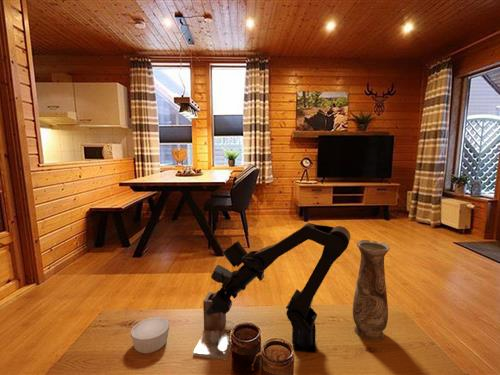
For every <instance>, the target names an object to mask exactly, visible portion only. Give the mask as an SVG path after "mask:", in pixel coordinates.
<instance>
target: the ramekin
mask: <svg viewBox="0 0 500 375" xmlns="http://www.w3.org/2000/svg"><path fill="white" fill-rule="evenodd" d="M130 330H131V331H130V337H131V339H132V344H133V347H134V350H135V351H137V352H138V353H140V354H150V353H151V354H152V353H154V352H157V351H158V350H160V349H161V348H163V347H164V346H165V345H166V343H167V341H168V336H169V330H170V323H169V321H168V320H167V319H166V318H164V317H159V316H158V317H156V316H155V317H150V318H146V319H143V320H141V321H139V322H138V323H136V324H134V326H133V327H131V329H130Z"/></svg>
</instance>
